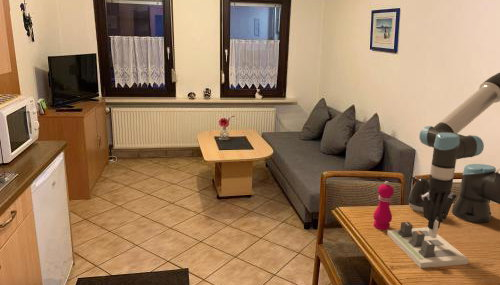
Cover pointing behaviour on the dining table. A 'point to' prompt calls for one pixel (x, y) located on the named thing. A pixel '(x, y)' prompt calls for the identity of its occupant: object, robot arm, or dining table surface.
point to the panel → (442, 249)
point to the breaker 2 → (427, 249)
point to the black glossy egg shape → (418, 194)
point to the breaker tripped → (417, 238)
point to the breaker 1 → (405, 229)
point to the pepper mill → (383, 207)
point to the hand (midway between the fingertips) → (432, 236)
